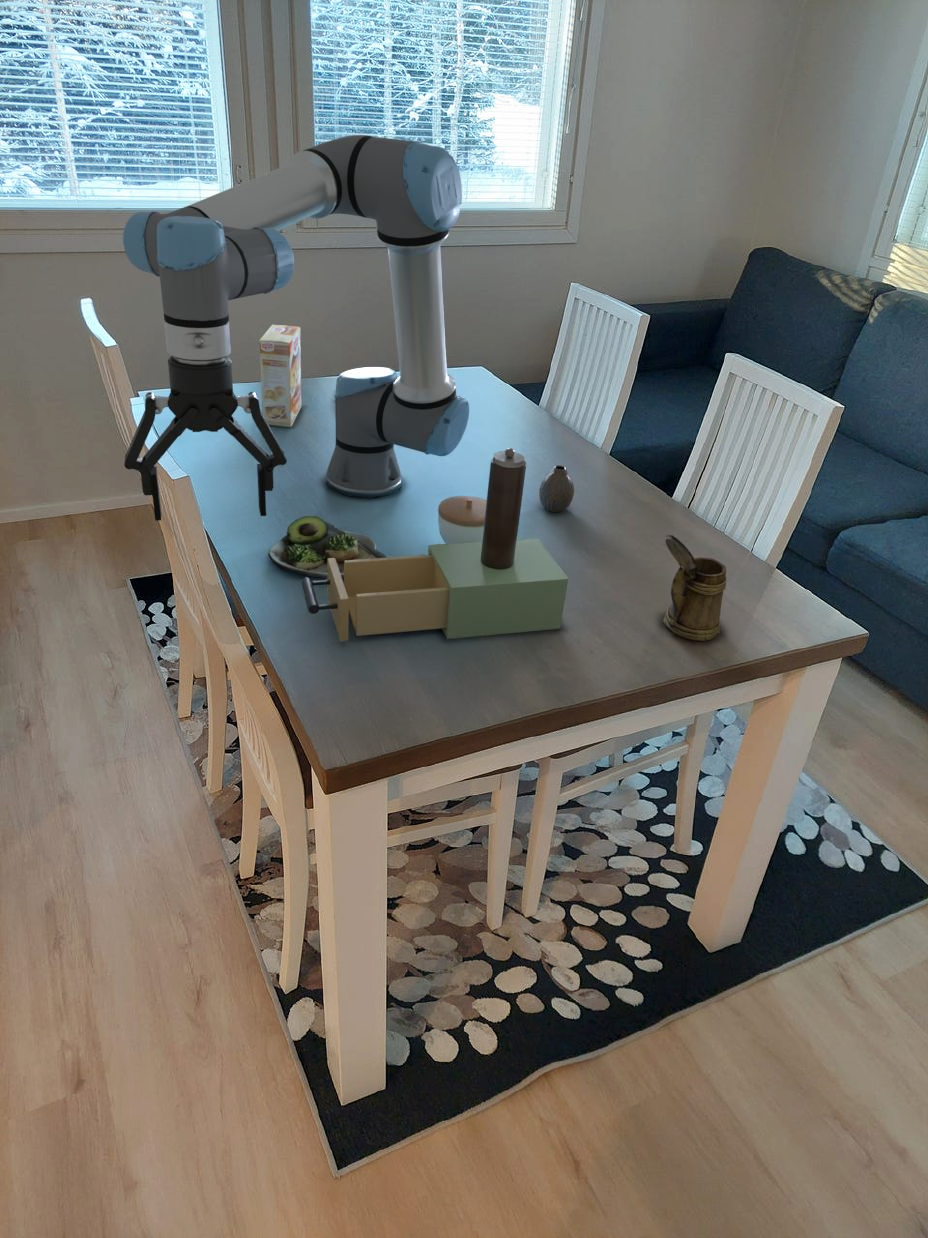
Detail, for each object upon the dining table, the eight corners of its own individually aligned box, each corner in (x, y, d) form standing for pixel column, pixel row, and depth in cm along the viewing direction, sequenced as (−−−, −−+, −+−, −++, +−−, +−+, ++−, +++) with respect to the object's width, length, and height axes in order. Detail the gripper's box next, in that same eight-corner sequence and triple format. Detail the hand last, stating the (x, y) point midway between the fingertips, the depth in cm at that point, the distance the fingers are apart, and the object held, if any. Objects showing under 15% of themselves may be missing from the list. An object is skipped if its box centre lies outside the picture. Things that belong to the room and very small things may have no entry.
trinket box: (501, 541, 161) (506, 494, 156) (483, 566, 152) (489, 517, 147) (447, 528, 163) (451, 482, 158) (427, 552, 154) (430, 504, 149)
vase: (569, 517, 172) (576, 476, 167) (535, 512, 173) (540, 471, 168) (572, 503, 178) (579, 463, 173) (539, 498, 178) (545, 458, 174)
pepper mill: (476, 554, 136) (487, 442, 126) (507, 552, 137) (521, 441, 127) (486, 570, 132) (498, 455, 122) (518, 568, 133) (533, 454, 123)
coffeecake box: (291, 427, 201) (289, 342, 191) (261, 425, 201) (257, 339, 191) (302, 406, 214) (301, 326, 203) (274, 404, 214) (271, 323, 203)
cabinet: (447, 639, 131) (451, 587, 127) (425, 593, 142) (428, 544, 137) (560, 628, 137) (568, 578, 132) (530, 585, 147) (537, 538, 143)
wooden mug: (630, 622, 140) (652, 522, 130) (694, 607, 146) (719, 510, 136) (665, 652, 133) (690, 548, 124) (730, 634, 139) (760, 535, 130)
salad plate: (403, 547, 155) (404, 524, 153) (364, 593, 141) (364, 568, 138) (305, 525, 159) (304, 502, 157) (257, 568, 145) (255, 543, 142)
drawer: (310, 644, 126) (310, 601, 122) (299, 600, 136) (299, 559, 132) (454, 631, 132) (458, 590, 128) (434, 590, 142) (437, 551, 138)
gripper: (87, 364, 99) (111, 530, 111) (306, 365, 106) (307, 521, 118) (91, 346, 105) (114, 506, 117) (298, 348, 112) (300, 498, 124)
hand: (211, 514), depth 117 cm, fingers open, 13 cm apart
